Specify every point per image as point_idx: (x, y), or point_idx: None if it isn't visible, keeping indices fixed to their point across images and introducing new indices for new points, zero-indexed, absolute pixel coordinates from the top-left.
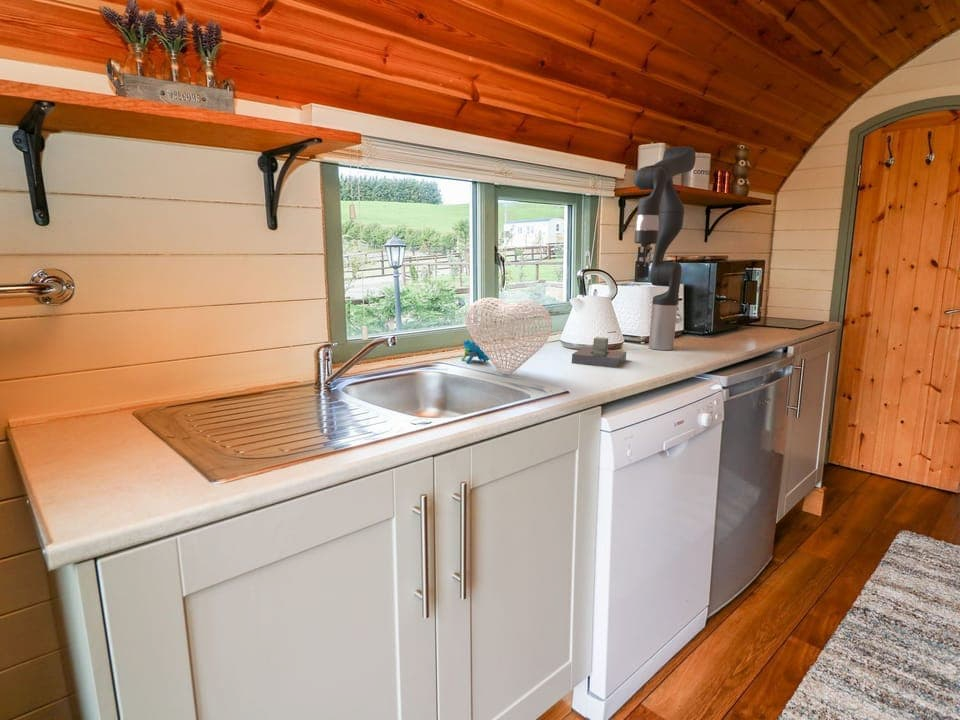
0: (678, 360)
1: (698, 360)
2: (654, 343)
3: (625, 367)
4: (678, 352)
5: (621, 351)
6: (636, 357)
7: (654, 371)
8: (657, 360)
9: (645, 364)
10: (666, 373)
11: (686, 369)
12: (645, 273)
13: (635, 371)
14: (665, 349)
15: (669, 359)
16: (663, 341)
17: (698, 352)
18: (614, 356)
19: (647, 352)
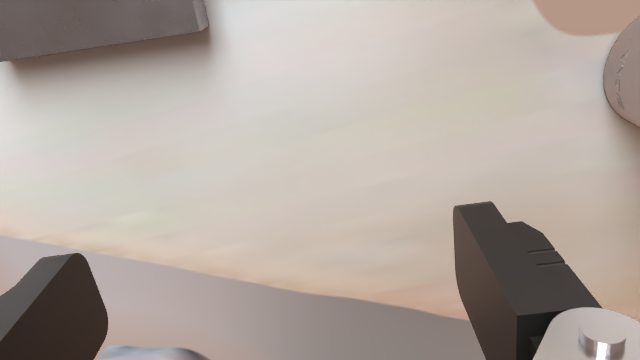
0: (373, 210)
1: (426, 267)
2: (630, 50)
3: (49, 81)
4: (587, 163)
5: (183, 8)
6: (320, 43)
7: (73, 195)
8: (311, 143)
9: (181, 128)
10: (75, 237)
11: (205, 272)
12: (469, 286)
13: (9, 140)
14: (610, 103)
15: (372, 176)
16: (630, 102)
17: (635, 230)
18: (19, 30)
19: (501, 43)
